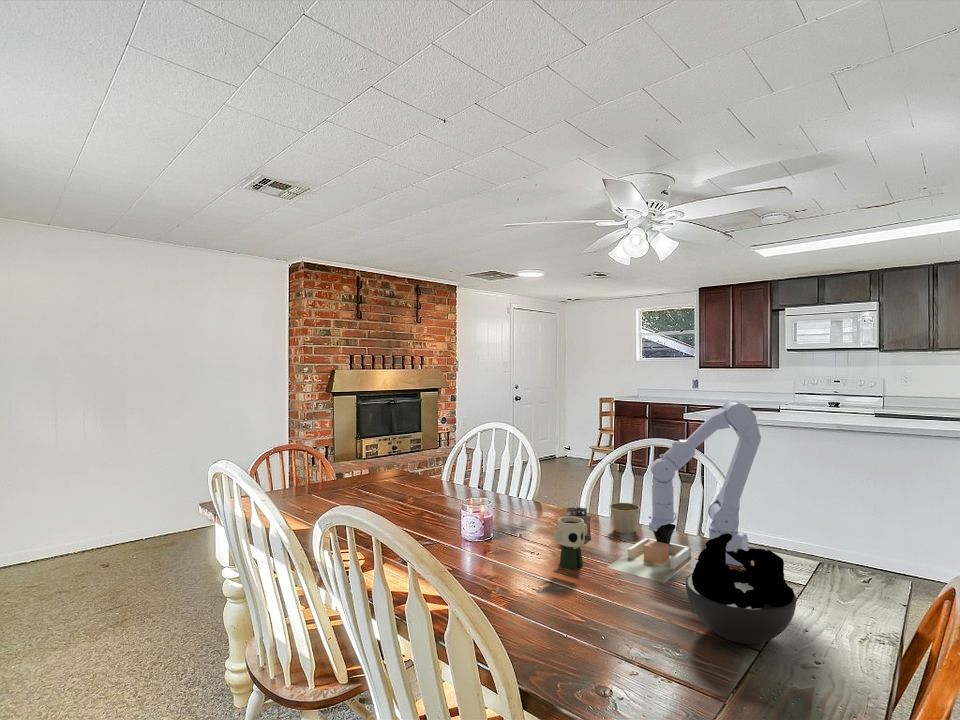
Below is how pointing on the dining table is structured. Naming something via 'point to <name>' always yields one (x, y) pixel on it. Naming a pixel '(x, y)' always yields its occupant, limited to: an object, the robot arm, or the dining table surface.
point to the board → (648, 567)
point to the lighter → (584, 516)
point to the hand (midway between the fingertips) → (663, 550)
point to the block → (656, 551)
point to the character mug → (570, 541)
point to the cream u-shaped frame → (679, 550)
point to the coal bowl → (741, 593)
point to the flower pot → (624, 517)
